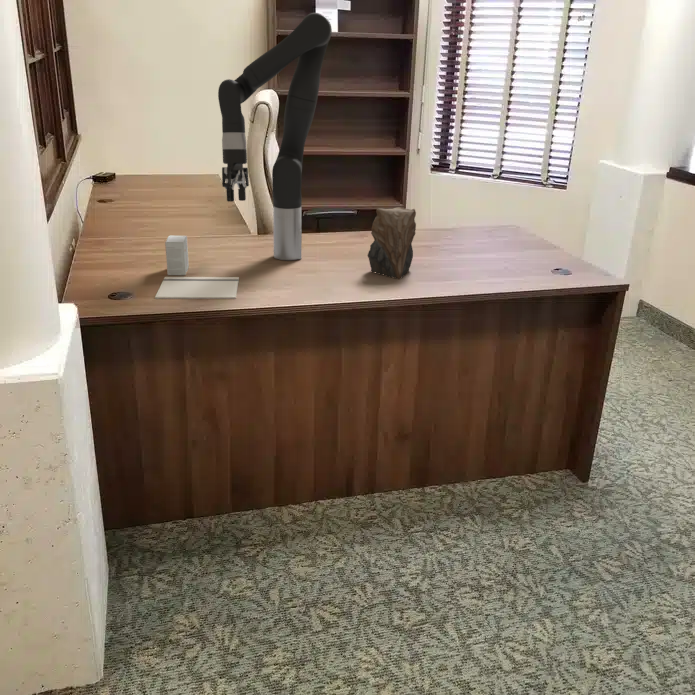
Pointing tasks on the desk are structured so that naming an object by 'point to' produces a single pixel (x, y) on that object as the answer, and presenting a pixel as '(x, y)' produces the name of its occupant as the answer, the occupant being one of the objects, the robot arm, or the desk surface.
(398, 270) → the owl
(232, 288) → the mat
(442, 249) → the desk surface
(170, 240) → the small box
